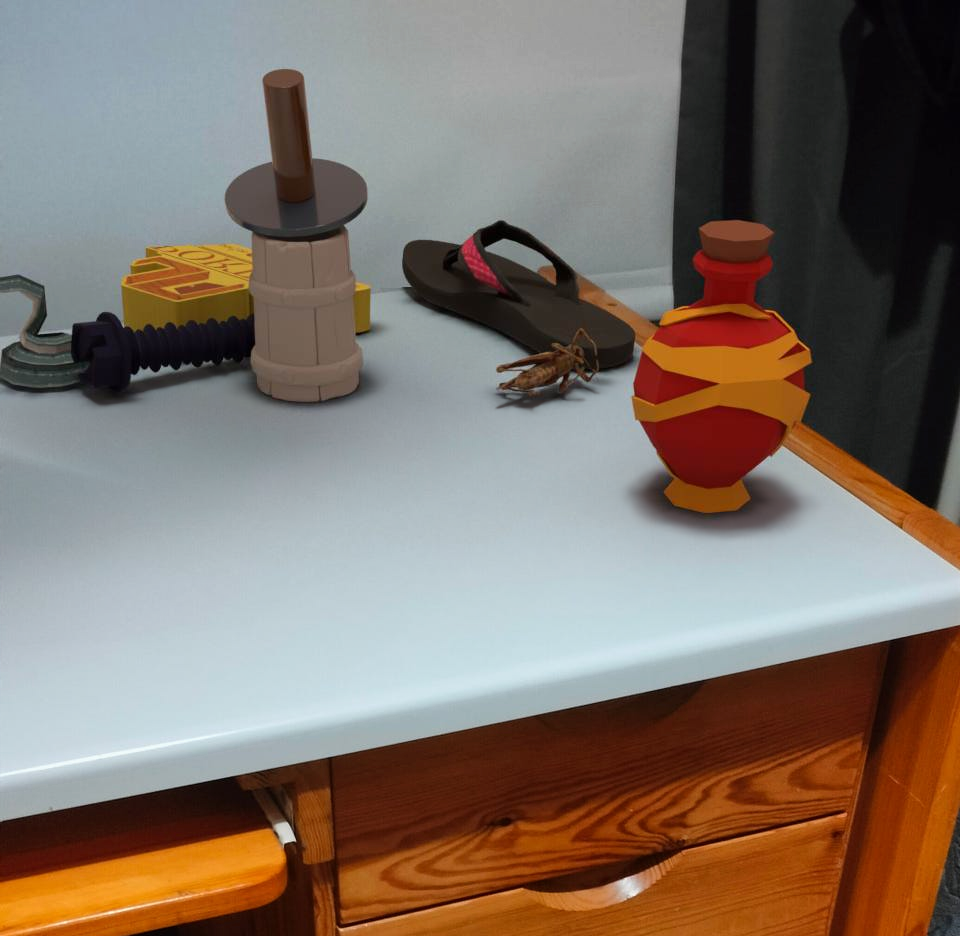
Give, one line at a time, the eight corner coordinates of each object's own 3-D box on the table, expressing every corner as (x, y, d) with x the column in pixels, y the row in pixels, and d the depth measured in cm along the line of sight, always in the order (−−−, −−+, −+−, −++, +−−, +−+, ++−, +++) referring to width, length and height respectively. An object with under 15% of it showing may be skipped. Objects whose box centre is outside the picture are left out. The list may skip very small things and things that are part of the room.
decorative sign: (196, 271, 132) (42, 298, 123) (194, 232, 130) (38, 256, 121) (374, 329, 122) (221, 363, 113) (375, 287, 120) (219, 318, 111)
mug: (240, 400, 111) (224, 206, 103) (281, 342, 120) (269, 159, 112) (350, 408, 110) (343, 213, 102) (383, 349, 119) (379, 165, 111)
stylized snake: (-84, 375, 113) (-104, 275, 109) (185, 334, 121) (176, 238, 117) (-53, 410, 109) (-73, 306, 104) (224, 364, 116) (216, 266, 112)
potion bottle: (617, 524, 97) (637, 252, 87) (630, 457, 105) (650, 200, 95) (794, 537, 96) (835, 264, 86) (794, 468, 104) (832, 210, 94)
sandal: (479, 263, 134) (480, 187, 130) (671, 355, 119) (678, 272, 115) (380, 283, 130) (378, 205, 126) (565, 381, 115) (569, 295, 111)
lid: (199, 221, 106) (180, 99, 100) (266, 155, 111) (251, 34, 105) (329, 248, 104) (317, 124, 98) (391, 179, 109) (383, 57, 103)
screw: (106, 374, 107) (80, 300, 107) (85, 408, 112) (60, 337, 111) (338, 348, 116) (315, 279, 116) (310, 381, 120) (288, 314, 120)
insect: (535, 426, 109) (483, 420, 112) (618, 383, 113) (566, 379, 117) (524, 356, 107) (471, 353, 110) (610, 315, 111) (556, 313, 114)
